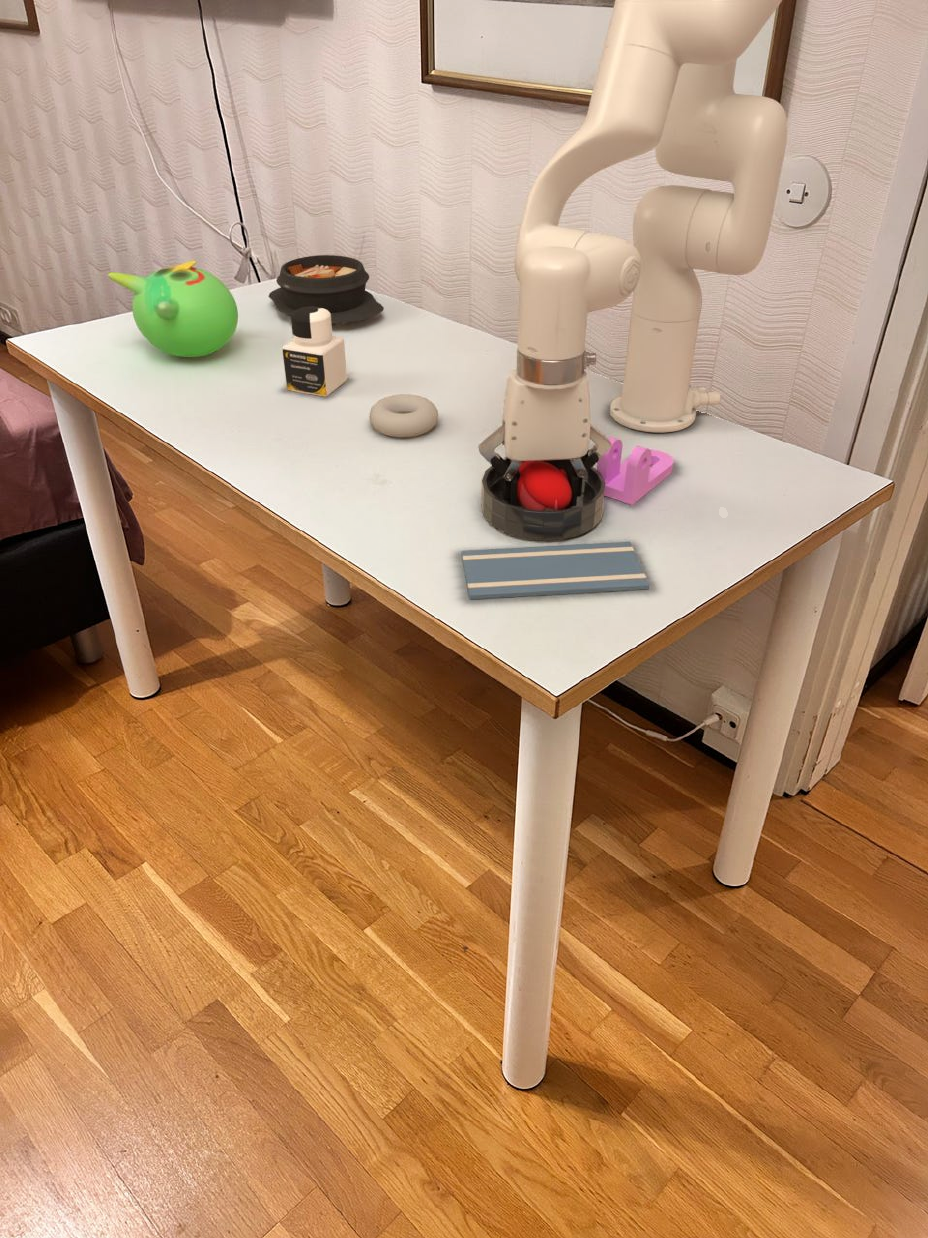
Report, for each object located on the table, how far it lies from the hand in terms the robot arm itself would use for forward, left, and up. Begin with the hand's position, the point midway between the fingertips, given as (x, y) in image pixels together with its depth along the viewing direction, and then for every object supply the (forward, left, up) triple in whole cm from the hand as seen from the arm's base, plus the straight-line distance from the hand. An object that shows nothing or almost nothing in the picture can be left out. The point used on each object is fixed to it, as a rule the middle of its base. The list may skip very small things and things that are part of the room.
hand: (541, 501), depth 116 cm
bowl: (0, 0, -1) cm, 1 cm away
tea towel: (+1, +13, -1) cm, 14 cm away
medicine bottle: (+29, -42, -2) cm, 51 cm away
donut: (+16, -26, -2) cm, 31 cm away
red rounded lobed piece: (0, 0, -1) cm, 1 cm away
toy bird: (+51, -58, -2) cm, 77 cm away
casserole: (+28, -77, -2) cm, 82 cm away
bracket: (-14, -7, -2) cm, 16 cm away
